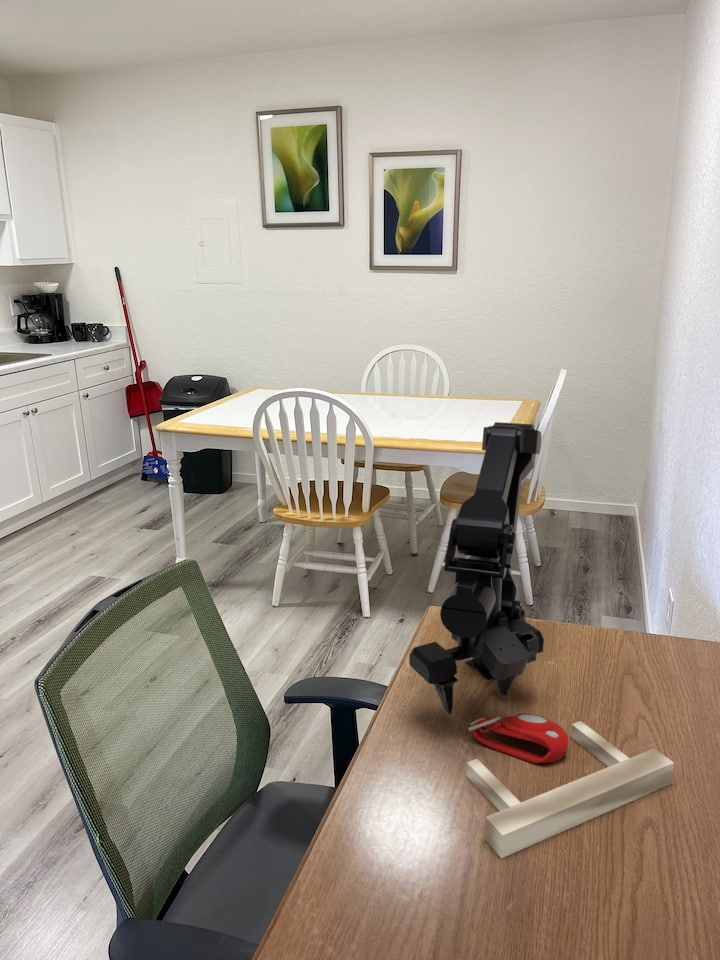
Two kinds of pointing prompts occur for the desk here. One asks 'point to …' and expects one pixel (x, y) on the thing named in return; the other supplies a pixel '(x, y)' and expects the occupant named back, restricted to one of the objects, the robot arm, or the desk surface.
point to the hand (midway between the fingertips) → (476, 703)
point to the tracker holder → (524, 735)
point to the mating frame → (569, 794)
